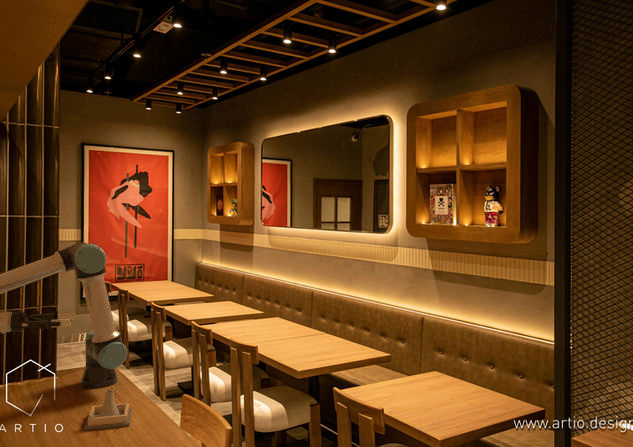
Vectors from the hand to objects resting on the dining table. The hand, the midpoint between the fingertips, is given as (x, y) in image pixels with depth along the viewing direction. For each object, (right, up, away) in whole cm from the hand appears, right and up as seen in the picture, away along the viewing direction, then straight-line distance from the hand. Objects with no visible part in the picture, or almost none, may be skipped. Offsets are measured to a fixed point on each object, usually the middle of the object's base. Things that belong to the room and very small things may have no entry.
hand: (73, 319), depth 204 cm
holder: (+18, -35, -10) cm, 41 cm away
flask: (+18, -35, -10) cm, 41 cm away
